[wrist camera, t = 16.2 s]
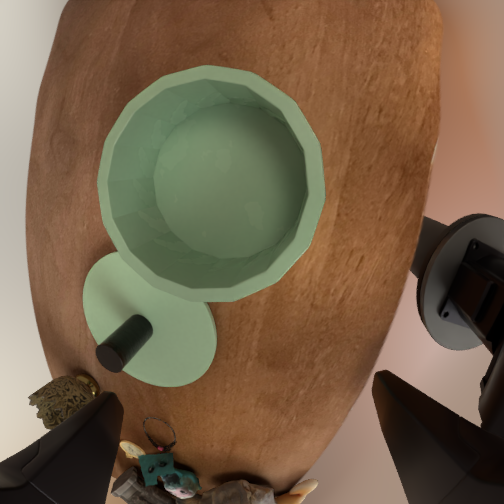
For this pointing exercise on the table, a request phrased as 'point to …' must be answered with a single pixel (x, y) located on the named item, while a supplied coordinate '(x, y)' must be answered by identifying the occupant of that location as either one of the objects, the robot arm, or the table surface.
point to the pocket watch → (131, 449)
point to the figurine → (168, 475)
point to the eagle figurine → (189, 500)
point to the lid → (146, 326)
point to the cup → (63, 398)
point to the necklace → (156, 442)
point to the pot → (211, 184)
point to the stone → (239, 494)
